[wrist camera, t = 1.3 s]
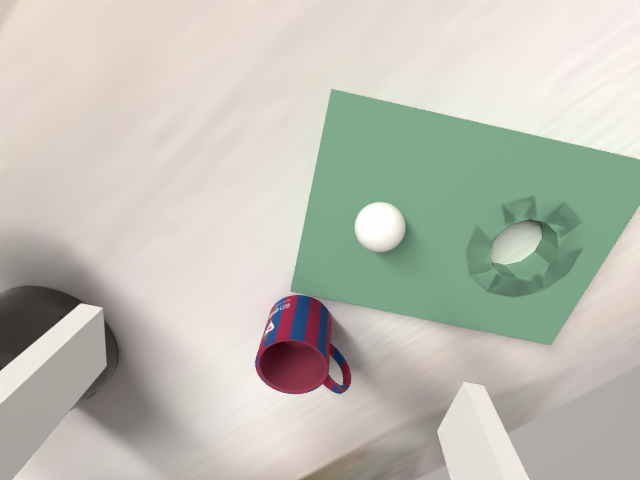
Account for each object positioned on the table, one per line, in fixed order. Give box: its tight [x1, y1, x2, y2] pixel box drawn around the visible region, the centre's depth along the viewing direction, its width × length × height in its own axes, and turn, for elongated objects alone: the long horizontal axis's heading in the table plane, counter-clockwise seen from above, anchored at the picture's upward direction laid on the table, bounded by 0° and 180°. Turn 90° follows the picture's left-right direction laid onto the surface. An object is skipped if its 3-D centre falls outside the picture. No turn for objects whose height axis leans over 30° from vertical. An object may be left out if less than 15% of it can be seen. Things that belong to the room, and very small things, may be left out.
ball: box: [355, 202, 406, 252], centre depth 27 cm, size 4×4×4 cm
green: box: [291, 89, 640, 345], centre depth 30 cm, size 26×18×2 cm
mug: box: [255, 295, 351, 394], centre depth 34 cm, size 7×10×7 cm
